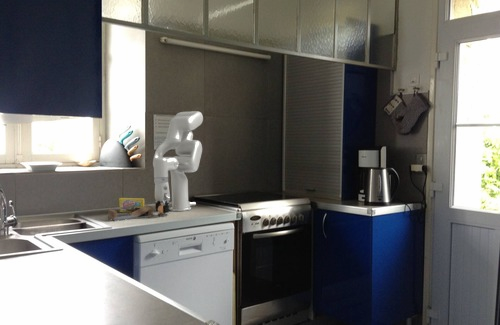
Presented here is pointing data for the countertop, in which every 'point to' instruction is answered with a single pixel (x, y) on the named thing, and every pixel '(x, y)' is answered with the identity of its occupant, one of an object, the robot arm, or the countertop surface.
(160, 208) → the ball
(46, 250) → the countertop surface
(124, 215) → the runway
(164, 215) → the cradle
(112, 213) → the ramp
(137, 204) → the candy box
